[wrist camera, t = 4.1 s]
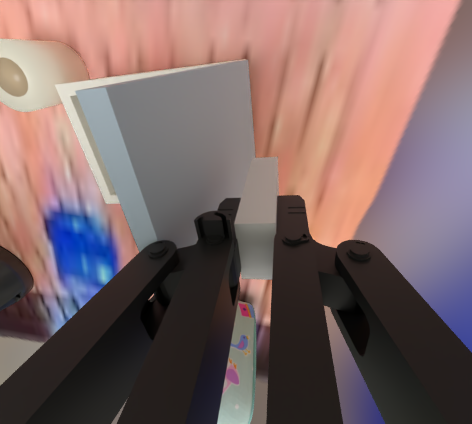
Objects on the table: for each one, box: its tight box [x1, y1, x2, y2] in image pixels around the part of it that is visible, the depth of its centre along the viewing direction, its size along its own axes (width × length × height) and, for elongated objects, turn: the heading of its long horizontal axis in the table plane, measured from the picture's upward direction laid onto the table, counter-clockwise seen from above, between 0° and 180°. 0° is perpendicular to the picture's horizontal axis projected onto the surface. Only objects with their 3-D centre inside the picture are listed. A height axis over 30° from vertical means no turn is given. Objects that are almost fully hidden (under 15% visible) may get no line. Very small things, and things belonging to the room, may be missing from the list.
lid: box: [75, 60, 256, 252], centre depth 16 cm, size 16×12×1 cm
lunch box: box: [217, 300, 256, 424], centre depth 42 cm, size 27×10×21 cm, turn 156°
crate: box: [55, 59, 246, 204], centre depth 27 cm, size 16×12×8 cm
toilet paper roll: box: [0, 39, 89, 112], centre depth 26 cm, size 6×6×7 cm
